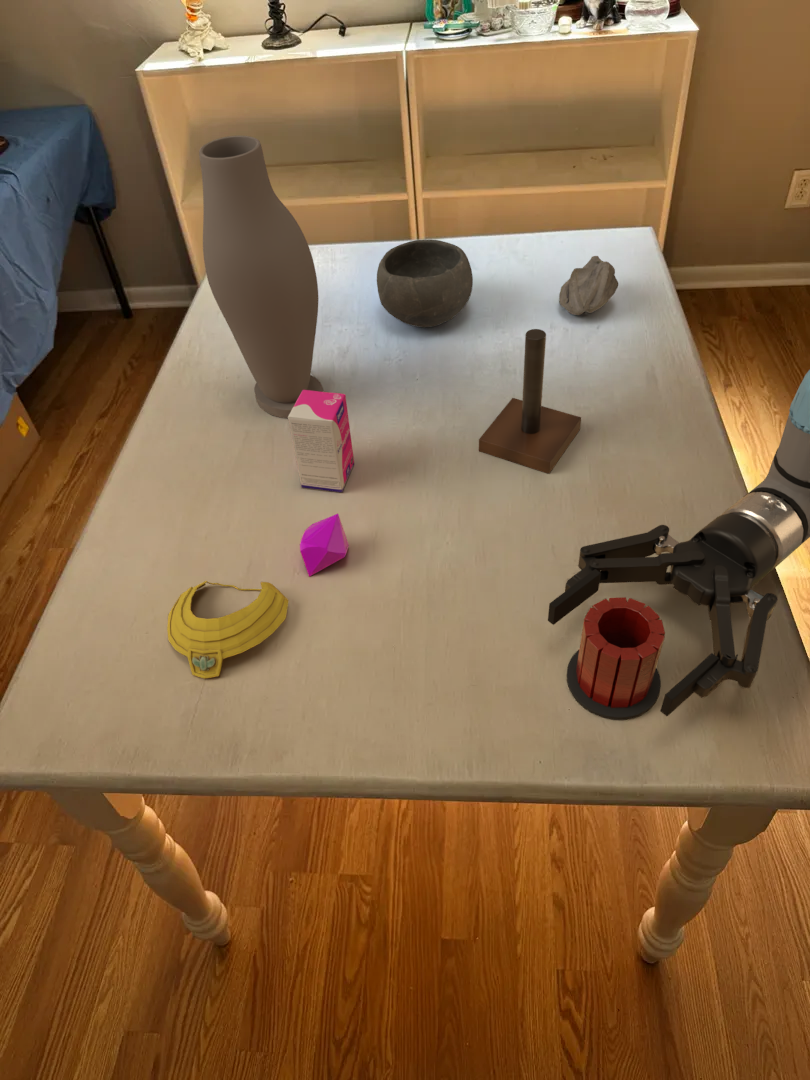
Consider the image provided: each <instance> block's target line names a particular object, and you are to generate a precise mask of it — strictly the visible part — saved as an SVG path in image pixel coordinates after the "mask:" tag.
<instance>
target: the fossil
mask: <svg viewBox="0 0 810 1080" xmlns="http://www.w3.org/2000/svg"><path fill="white" fill-rule="evenodd" d="M618 287H619V281H618V279H617V278H616V269H615V267H614V266H613V265H612V264H611V263H610V262H609V261H606V260H605V261H603V260H602V259H601V258H600V257H599V255H593V256H591V258H590V259H589V260H588V261H587V263H585V264H584V265H583V267H575V268H574V269H573V270H572V271H571V275H570V277H569V279H567V280H566V281H565V282H564V283H563V285H562V286H561V287H560V290H559V291H560V292H559V296H558V297H559V298H558V299H559V302H558V303H559V304H560V306H561V307H562V308H564V309H565V310H566V311H567V312H568V313H569V314H571V315H574V316H580V315H582V314H584V312H586V313H589V314H592V313H593V312H595V311H597V310H600V309H601V308H602V307H603V306H605V305H606V304H607V303H608V302H609V300H610V299H611V298H612V297H613V296H614V294H615V293H616V291H617V289H618Z"/></svg>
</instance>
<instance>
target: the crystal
mask: <svg viewBox="0 0 810 1080" xmlns="http://www.w3.org/2000/svg"><path fill="white" fill-rule="evenodd" d="M349 546H350V544H349V541H348V538H347V535H346V531H345V529H344V526H343V523H342V520H341V518H340V515H339V513H336V514H332V515H331V516H328V517H325V518H323V519H320V520H319V521H316V522H314V523H312V524H310V525H309V526H307V528H306V529H304V532H303V533H302V536H301V538H300V543H299V551H300V555H301V558H302V560H303V563H304V566H305V569H306V572H307V574H308V577H309V578H311V576H313V575H315V574H317V573H319V572H320V571H322V570H324V569H326V568H328V567H330V566H331V565H333V564H335V563H337V562H338V561H340V560H342V559H344V558H345V557H346V556H347V552H348V550H349Z"/></svg>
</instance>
